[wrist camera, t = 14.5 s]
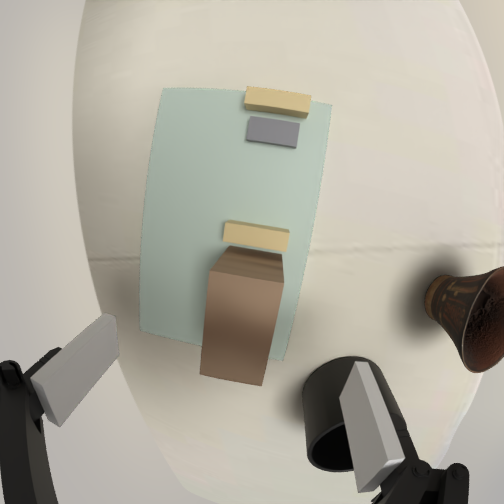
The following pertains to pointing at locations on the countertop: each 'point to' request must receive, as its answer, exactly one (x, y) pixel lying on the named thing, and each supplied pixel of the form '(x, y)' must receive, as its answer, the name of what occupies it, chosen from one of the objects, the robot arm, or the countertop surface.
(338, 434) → the mug
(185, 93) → the wall board
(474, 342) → the cup
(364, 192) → the countertop surface
